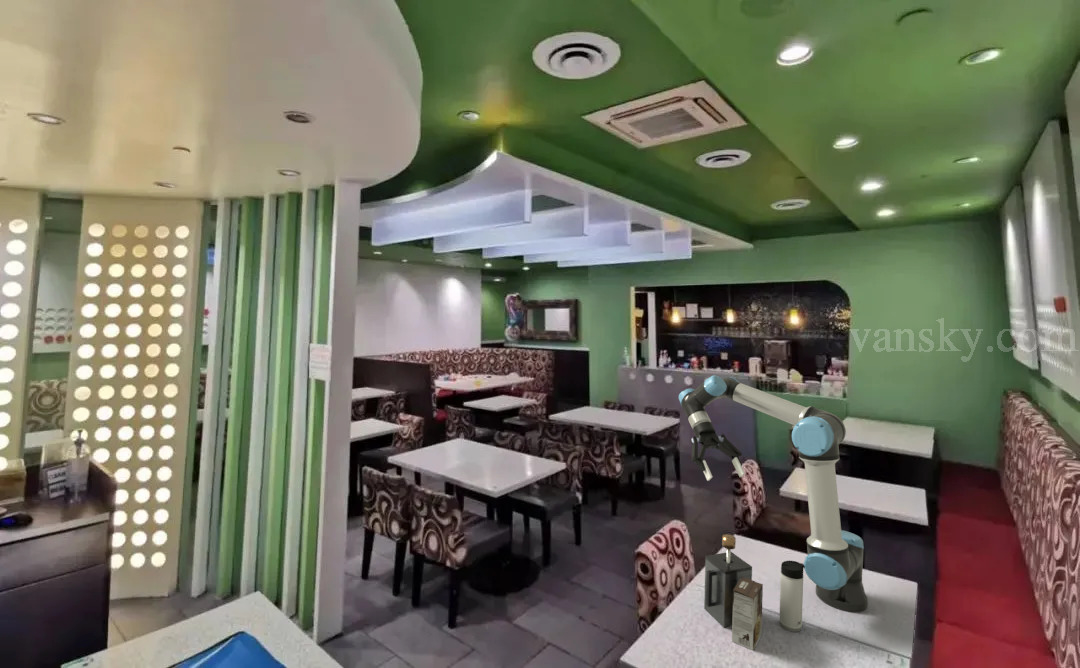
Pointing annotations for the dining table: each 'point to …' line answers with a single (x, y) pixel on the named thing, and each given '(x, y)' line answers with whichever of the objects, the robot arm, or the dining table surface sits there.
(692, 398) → the robot arm
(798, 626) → the travel mug
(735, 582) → the press pot
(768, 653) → the dining table surface
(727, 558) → the plunger
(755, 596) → the coffee box
